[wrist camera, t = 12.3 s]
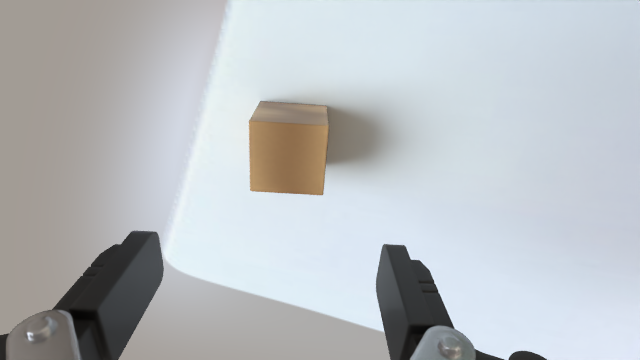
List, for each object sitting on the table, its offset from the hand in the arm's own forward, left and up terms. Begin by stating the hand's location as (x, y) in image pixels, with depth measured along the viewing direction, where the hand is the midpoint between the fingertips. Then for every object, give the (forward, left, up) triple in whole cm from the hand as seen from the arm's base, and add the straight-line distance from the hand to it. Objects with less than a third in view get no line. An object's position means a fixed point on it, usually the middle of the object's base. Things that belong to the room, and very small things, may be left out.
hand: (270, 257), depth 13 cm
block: (0, 0, -13) cm, 13 cm away
